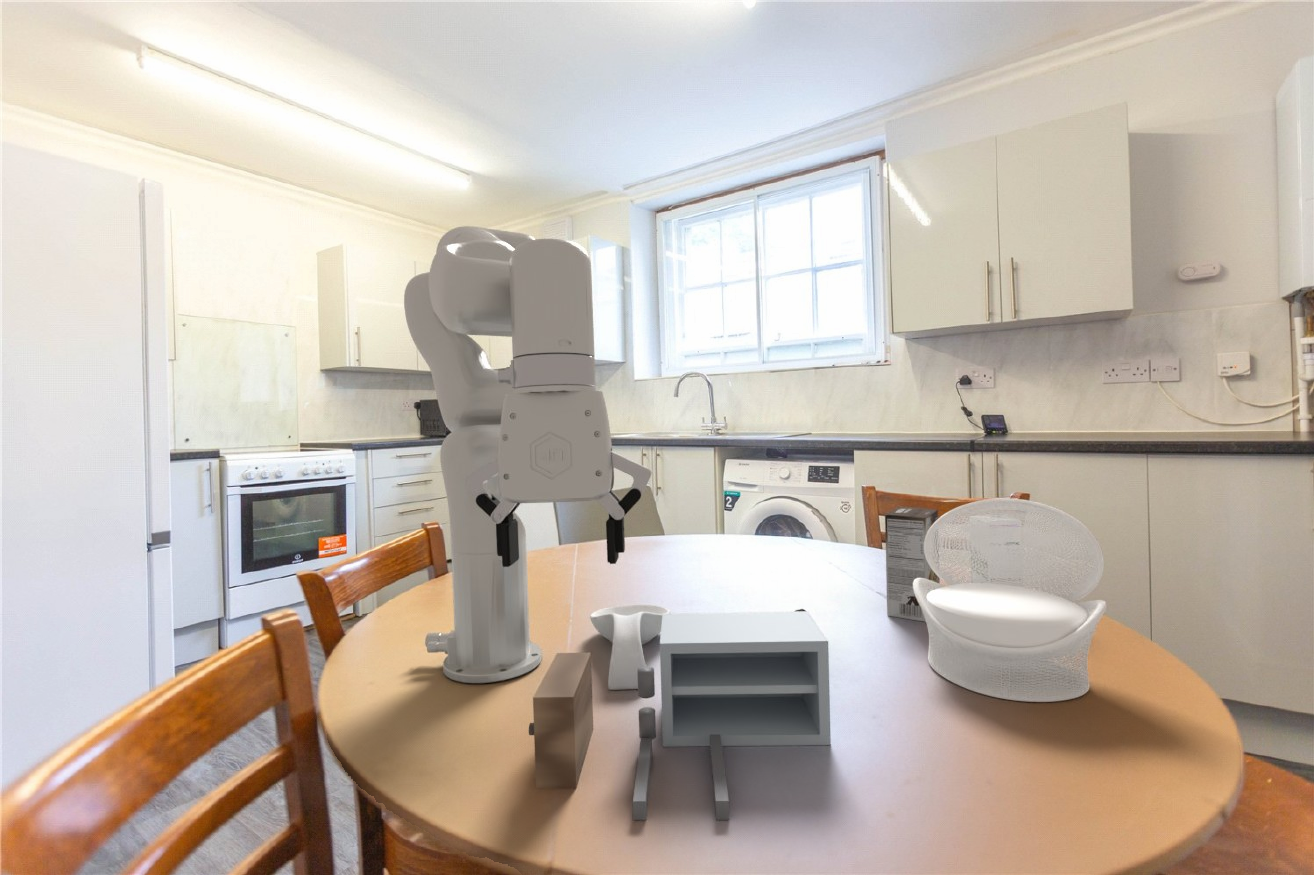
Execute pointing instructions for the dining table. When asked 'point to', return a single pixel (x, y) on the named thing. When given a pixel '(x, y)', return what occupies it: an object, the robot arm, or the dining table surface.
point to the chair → (1011, 601)
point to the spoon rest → (627, 639)
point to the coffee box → (907, 559)
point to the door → (563, 721)
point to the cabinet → (734, 689)
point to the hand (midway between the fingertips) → (562, 562)
